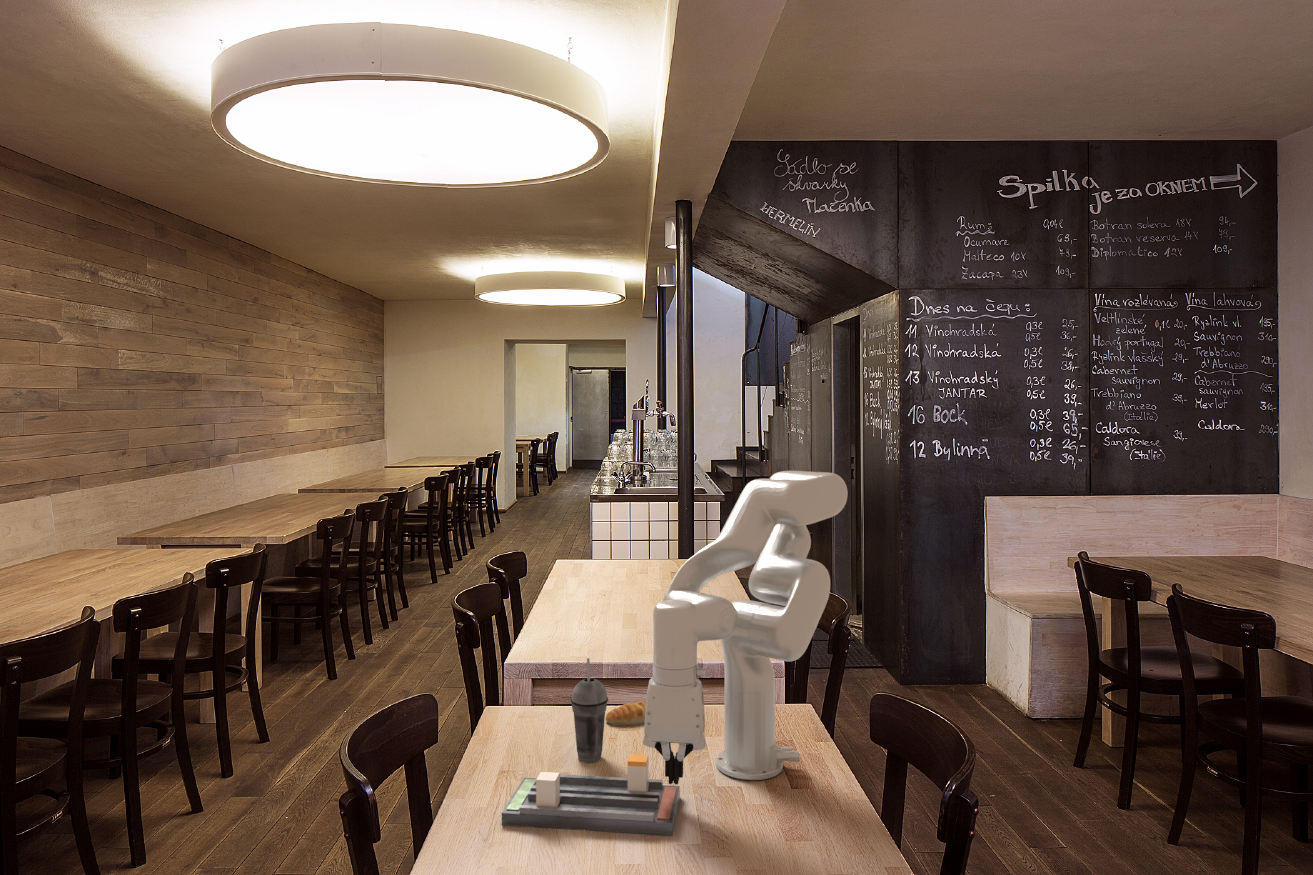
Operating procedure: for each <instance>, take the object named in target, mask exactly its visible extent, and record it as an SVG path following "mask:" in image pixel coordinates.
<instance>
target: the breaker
mask: <svg viewBox="0 0 1313 875" xmlns="http://www.w3.org/2000/svg"><path fill="white" fill-rule="evenodd" d="M536 778H537V779H536V806H550V807H558V805H559V803H560V772H551V771H550V772H549V771H540V773H539V774H538V776H537V777H536Z"/></svg>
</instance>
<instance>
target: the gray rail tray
mask: <svg viewBox="0 0 1313 875" xmlns="http://www.w3.org/2000/svg"><path fill="white" fill-rule="evenodd" d="M537 778H538V777H524V778H523V779H522V781H521V782H520V783H519V786H518V787H517V789H516V790H515V792H514V793H513V795H512V796H511V798H510V799H509V801H508V802H507V803H506V806H505V807H504V809H503V810H502V812H501V826H511V827H530V828H542V829H543V828H544V829H547V828H548V829H561V830H572V831H573V830H576V831H588V832H589V831H590V832H604V833H605V832H606V833H608V832H609V833H623V834H638V835H639V834H640V835H641V834H642V835H651V836H652V835H653V836H654V835H656V836H673V834H674V828H675V822H676V818H677V813H678V809H679V804H680V797H681V787H680V785H669V784H668V785H666V784H663V783H664V780H663V779H653V778H649V788H648V791H647V792H642V791H628V777H620V776H619V777H618V776H617V777H616V776H597V775H596V776H595V775H582V774H581V775H579V774H562V773H561V774H560V803H559V805H558V807H550V806H536V779H537Z"/></svg>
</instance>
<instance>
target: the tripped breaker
mask: <svg viewBox="0 0 1313 875" xmlns="http://www.w3.org/2000/svg"><path fill="white" fill-rule="evenodd" d="M627 778H628V791H642V792H647V791H648V788H649V779H650V778H649V754H636V753H630V754H629V757H628V760H627Z"/></svg>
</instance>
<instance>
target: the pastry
mask: <svg viewBox="0 0 1313 875" xmlns="http://www.w3.org/2000/svg"><path fill="white" fill-rule="evenodd" d="M645 707H646V702H644V701H640V700H638V701H637V702H629V703H624V704H622V705H621V706H619V707H617V708H616V707H615V708H613V709H612V710H610V711H608V712H607V713H606V714H605V722H607V723H608V724H611V725H612V726H617V727H618V726H632V725H633V726H634V725H641V724H644V723H645Z"/></svg>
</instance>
